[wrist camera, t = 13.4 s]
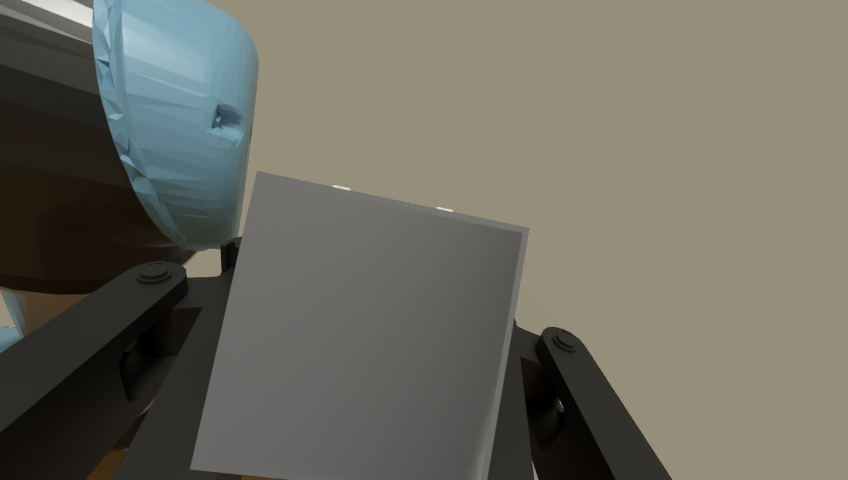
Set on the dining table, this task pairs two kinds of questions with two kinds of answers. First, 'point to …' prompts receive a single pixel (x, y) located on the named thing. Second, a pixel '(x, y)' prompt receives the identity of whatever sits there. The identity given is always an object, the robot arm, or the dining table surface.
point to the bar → (360, 339)
